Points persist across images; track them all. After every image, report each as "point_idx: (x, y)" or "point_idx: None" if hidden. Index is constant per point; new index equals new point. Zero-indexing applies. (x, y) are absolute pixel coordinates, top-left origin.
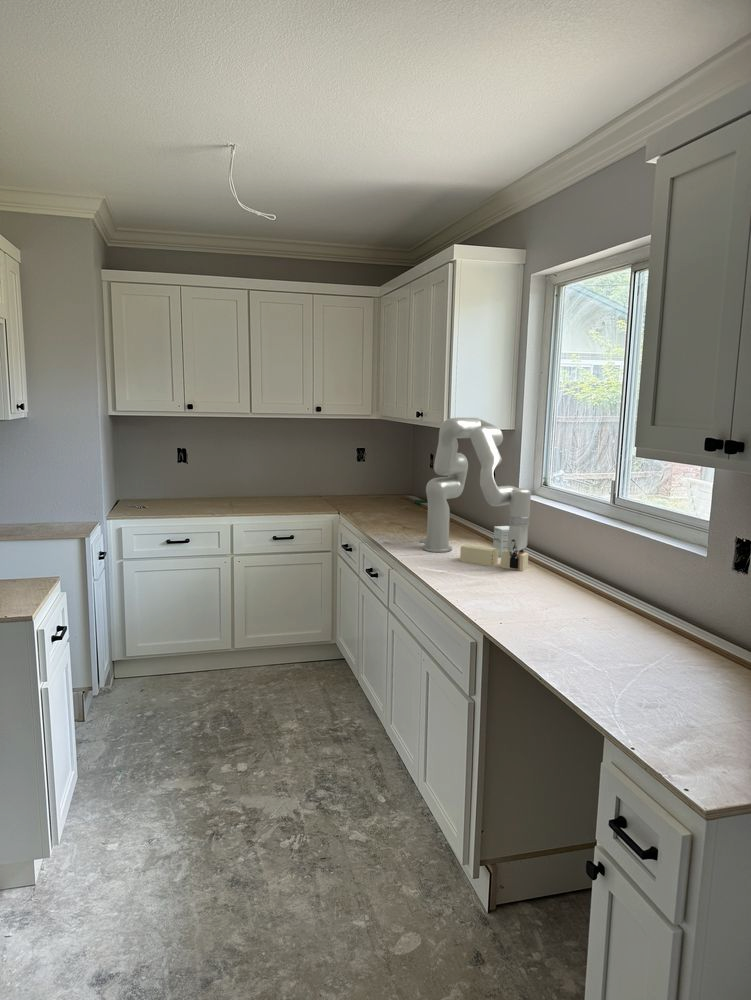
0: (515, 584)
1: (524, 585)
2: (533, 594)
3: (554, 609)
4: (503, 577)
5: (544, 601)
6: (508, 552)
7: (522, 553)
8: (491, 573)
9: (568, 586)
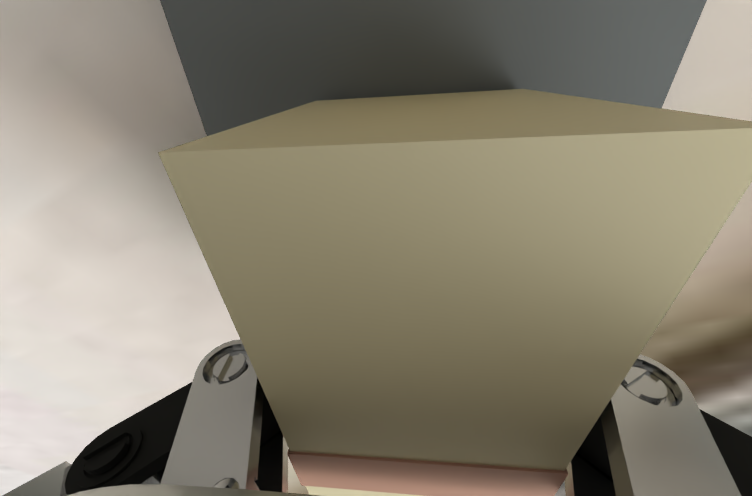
0: (81, 354)
1: (120, 386)
2: (62, 430)
3: (28, 478)
4: (113, 251)
5: (48, 458)
6: (351, 321)
7: (440, 490)
8: (89, 95)
9: (288, 483)
